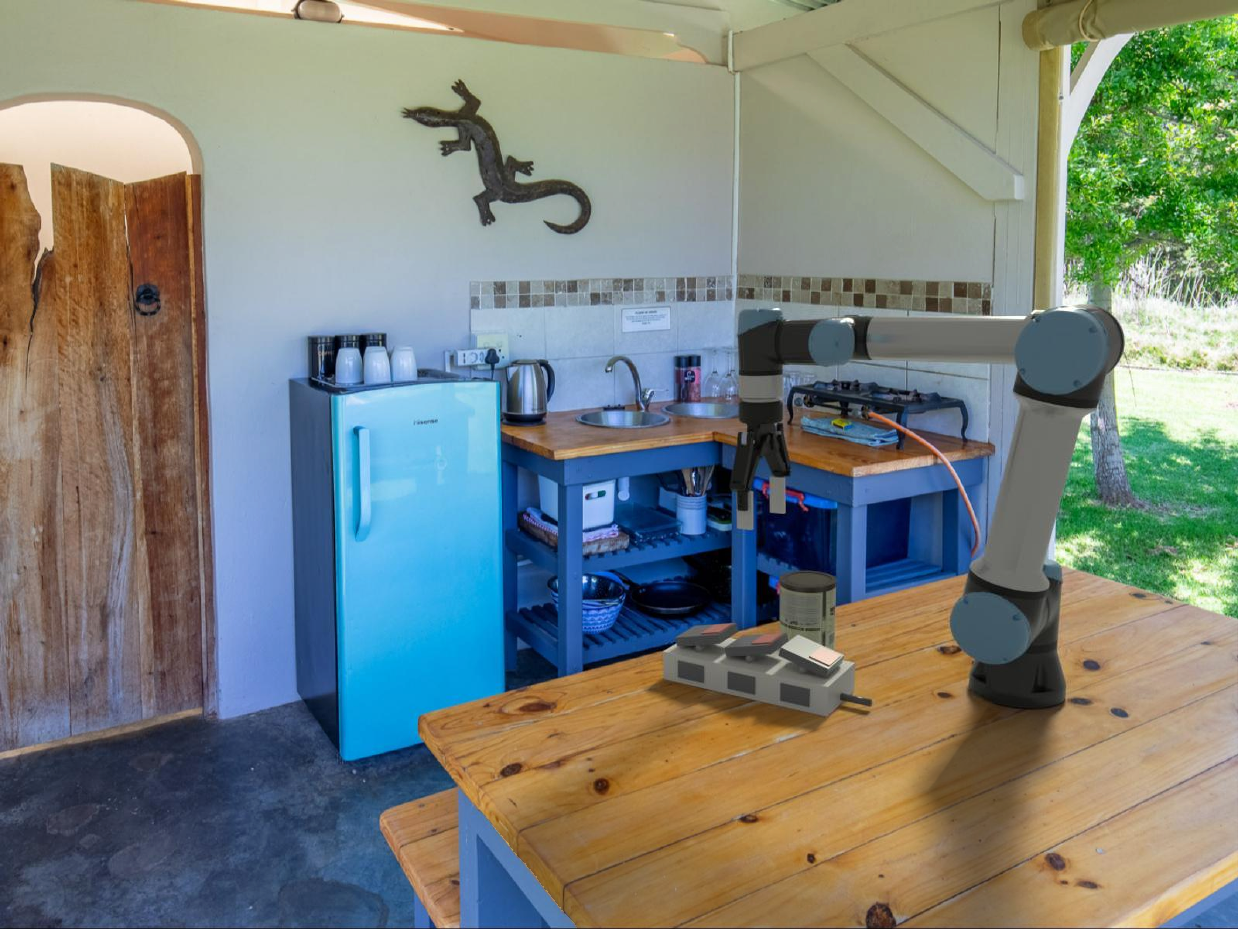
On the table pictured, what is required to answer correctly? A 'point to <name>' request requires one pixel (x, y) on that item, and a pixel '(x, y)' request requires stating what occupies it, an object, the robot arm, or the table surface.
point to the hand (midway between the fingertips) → (761, 520)
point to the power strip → (761, 678)
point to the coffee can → (808, 606)
